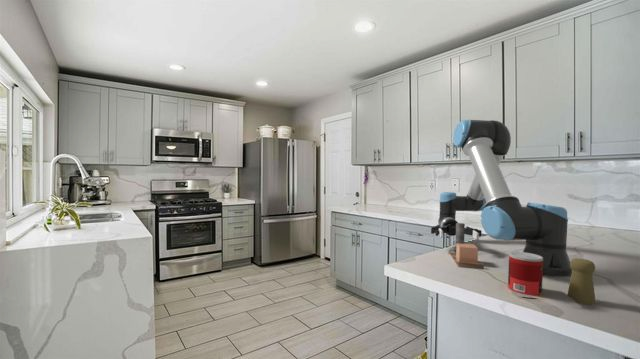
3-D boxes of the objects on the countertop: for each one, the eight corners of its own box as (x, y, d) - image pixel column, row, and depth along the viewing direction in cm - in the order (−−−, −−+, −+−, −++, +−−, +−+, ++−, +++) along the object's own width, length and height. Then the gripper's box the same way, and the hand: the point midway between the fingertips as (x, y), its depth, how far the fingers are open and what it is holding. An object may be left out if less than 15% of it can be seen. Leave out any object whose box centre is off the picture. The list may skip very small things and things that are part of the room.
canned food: (547, 301, 82) (549, 260, 82) (514, 298, 84) (515, 258, 84) (533, 290, 90) (535, 252, 89) (503, 287, 91) (504, 250, 91)
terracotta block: (456, 259, 116) (456, 243, 116) (473, 260, 115) (473, 244, 115) (459, 263, 111) (459, 247, 110) (477, 265, 109) (477, 248, 109)
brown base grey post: (448, 253, 128) (449, 222, 128) (469, 255, 126) (469, 223, 126) (458, 270, 107) (459, 232, 107) (483, 272, 105) (484, 233, 105)
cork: (560, 295, 86) (562, 256, 86) (581, 295, 87) (582, 256, 86) (581, 305, 80) (582, 263, 80) (602, 304, 81) (604, 262, 80)
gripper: (478, 236, 144) (492, 246, 123) (422, 232, 150) (427, 242, 129) (479, 220, 143) (493, 228, 123) (423, 217, 149) (427, 224, 129)
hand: (459, 235), depth 126 cm, fingers open, 13 cm apart
